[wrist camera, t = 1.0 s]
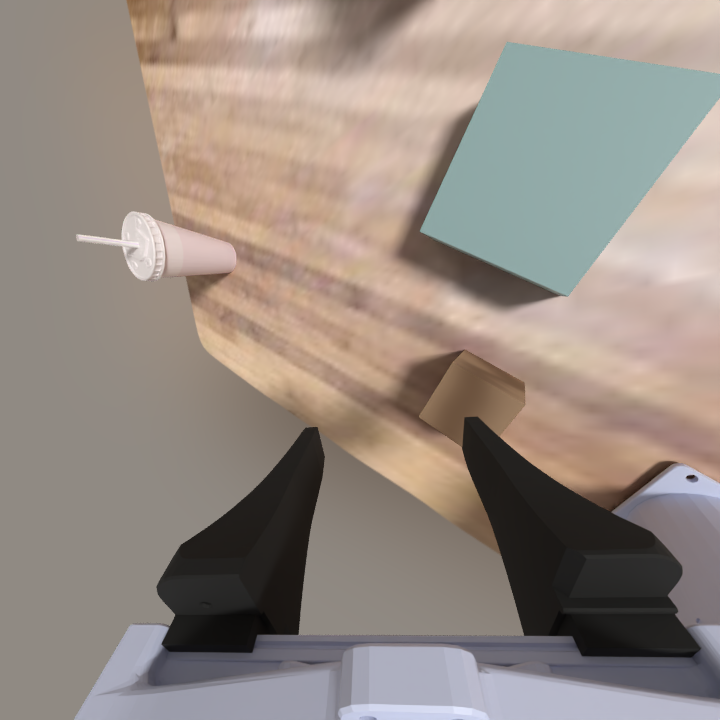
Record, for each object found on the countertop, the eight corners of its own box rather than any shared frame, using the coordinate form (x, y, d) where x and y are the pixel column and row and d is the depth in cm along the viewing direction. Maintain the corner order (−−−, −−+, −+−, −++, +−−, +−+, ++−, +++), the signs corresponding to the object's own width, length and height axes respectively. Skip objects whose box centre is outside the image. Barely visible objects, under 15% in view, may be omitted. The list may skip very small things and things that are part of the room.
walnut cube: (524, 382, 21) (525, 404, 17) (487, 429, 23) (480, 459, 19) (465, 349, 23) (452, 362, 18) (435, 395, 25) (418, 417, 21)
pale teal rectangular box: (687, 125, 15) (735, 76, 11) (559, 295, 19) (567, 296, 16) (509, 88, 18) (506, 41, 15) (434, 240, 22) (419, 231, 19)
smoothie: (248, 278, 34) (100, 269, 22) (218, 288, 37) (75, 286, 25) (236, 223, 33) (75, 183, 21) (206, 238, 36) (53, 212, 24)
